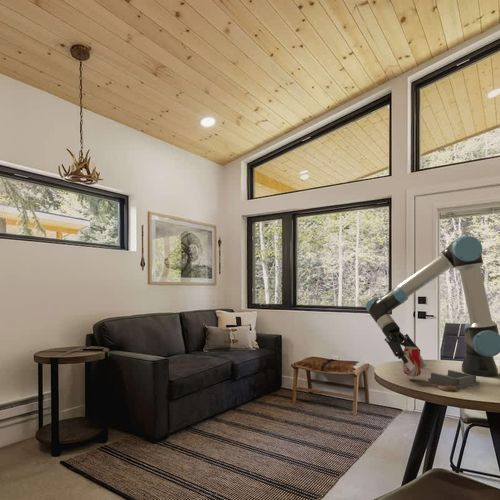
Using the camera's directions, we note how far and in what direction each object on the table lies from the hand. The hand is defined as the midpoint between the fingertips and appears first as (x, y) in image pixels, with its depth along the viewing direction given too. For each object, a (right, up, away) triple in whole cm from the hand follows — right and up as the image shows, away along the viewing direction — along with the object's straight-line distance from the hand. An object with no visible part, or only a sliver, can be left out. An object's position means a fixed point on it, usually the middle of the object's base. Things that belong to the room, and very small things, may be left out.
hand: (418, 368), depth 173 cm
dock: (+14, -6, -3) cm, 15 cm away
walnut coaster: (+6, -5, -12) cm, 15 cm away
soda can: (-2, -4, +3) cm, 5 cm away
